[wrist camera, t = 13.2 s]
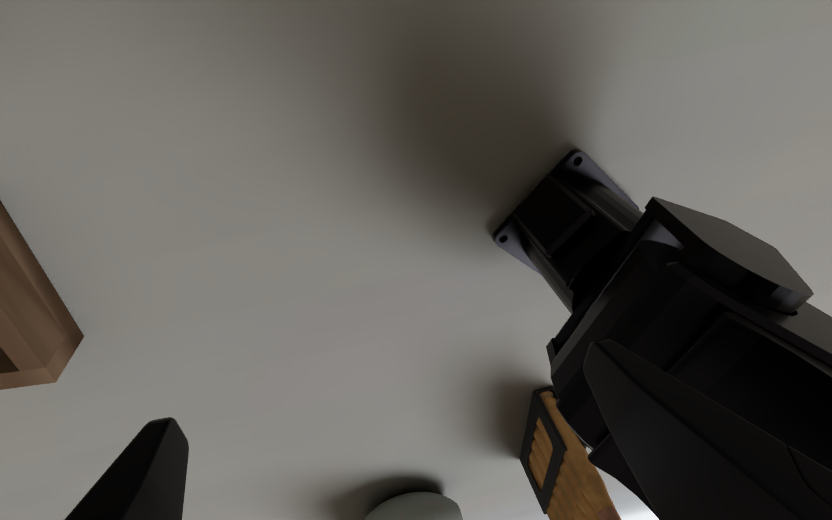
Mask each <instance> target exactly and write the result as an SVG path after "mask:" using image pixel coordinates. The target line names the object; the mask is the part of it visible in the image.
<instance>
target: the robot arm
mask: <svg viewBox="0 0 832 520" xmlns="http://www.w3.org/2000/svg"><path fill="white" fill-rule="evenodd" d="M576 157H578V160H577V161H576V162H575V163H573V161H574V159H575V158H576ZM645 209H646V211H645V212H644V213H642V212H641V211H639V207H638V206H637V205H636V204H635V203H634V202H633V201H632V200H631V199H630V198H629V197H628V196H627V195H626V194H625V193H624V192H623V191H622V190H621V189H620V188H619V187H618V186H617V185H616V184H615V183H614V182H613V181H612V180H611V179H610V178H609V177H608V176H607V175H606V174H605V173H604V172H603V171H602V170H601V169H600V168H599V167H598V166H597V165H596V164H595V163H594V162H593V161H592V160H591V159H590V158H589V157H588V156H587V155H586V154H585V153H584V152H582V151H580V150H579V149H574V150H572V151H570V152H569V153H568V154H567V155H566V156H565V157H564V158H563V159H562V160H561V161H560V163H559V164H558V165H557V166H556V167H555V168H554V169H553V170H552V171H551V172H550V173H549V174H548V175H547V176H546V177H545V178H544V179H543V180H542V181H541V182H540V184H539V185H538V186H537V187H536V188H535V189H534V190H533V191H532V192H531V193H530V194H529V195H528V196H527V197H526V199H525V200H524V201H523V202H522V203H521V204H520V205H519V206H518V207H517V208H516V209H515V210H514V212H513V213H512V214H511V215H510V216H509V217H508V218H507V219H506V220H505V221H504V222H503V223H502V224H501V225H500V227H499V228H498V229H497V230H496V231H495V232H494V234H493V240H494V242H495V243H496V244H497V245H498V246H499V247H501V248H502V249H504V250H505V251H506V252H508V253H509V254H511V255H512V256H514V257H515V258H517V259H518V260H520V261H521V262H523V263H524V264H526V265H527V266H529V267H530V268H532V269H533V270H535V271H536V272H538V273H539V274H541V275H542V276H543V277H544V279H545V280H546V281H547V283H548V284H549V285H550V287H551V288H552V289H553V291H554V292H555V293H556V295H557V296H558V297H559V298H560V300H561V301H562V302H563V304H564V305H565V306H566V308H567V309H568V310H569V312H570V313H571V314H572V315H571V316H570V317H569V319H568V320H567V322H566V323H565V324H564V326H563V327H562V329H561V330H560V331H559V333H558V334H557V336H556V337H555V338H552V339H551V341H550V342H549V343H548V345H547V346H546V348H547V352H548V357H549V361H550V365H551V380H552V383H553V385H554V388H555V391H556V393H557V396H558V400H557V401H556V407H557V409H558V411H559V413H560V414H561V416H562V417H563V419H564V420H565V422H566V423H567V424H568V426H569V427H570V428H571V430H572V431H573V432H574V433H575V435H576V436H577V437H578V438H579V439H580V440H581V441H582V442H583V443H584V444H585V445H586V446H587V447H589V448H590V449H591V450H592V451H591V452H590V454H589V455H588V460H589V461H590V463H591V464H593V465H594V466H596V467H598V468H599V469H601V470H603V471H604V472H606V473H608V474H609V475H611V476H613V477H614V478H616V479H617V480H618V481H619V482H621V483H622V484H623V485H624V486H626V487H627V488H628V489H629V490H630V491H632V492H633V493H634V494H635V495H637V496H638V497H639V498H640V499H641V500H642V501H643V502H644V504H645V505H646V506H647V507H648V508H649V509H650V510H651V511H652V512H653V513H654V514H655V515H656V516H657V517H658V518H659V520H832V317H831V316H829V315H827V314H826V313H824V312H822V311H821V310H819V309H817V308H815V307H814V306H812V305H810V304H809V303H807V302H806V301H807V300H808V299H809V298H810V297H811V296H812V295H813V292H812V290H811V289H810V288H809V286H808V285H807V284H806V283H805V282H804V281H803V279H802V278H801V277H800V276H799V275H798V274H797V272H796V271H795V270H794V269H793V268H792V267H791V265H790V264H789V263H788V262H787V261H786V260H785V258H784V257H783V256H782V255H781V254H780V253H779V251H778V250H777V249H776V248H774V247H773V246H771V245H769V244H768V243H766V242H764V241H762V240H760V239H758V238H757V237H755V236H753V235H751V234H749V233H747V232H745V231H744V230H742V229H740V228H738V227H736V226H734V225H733V224H731V223H729V222H727V221H725V220H722V219H719V218H716V217H713V216H710V215H707V214H704V213H701V212H698V211H695V210H692V209H689V208H686V207H683V206H680V205H677V204H674V203H671V202H668V201H665V200H662V199H659V198H657V197H652V198H651V199H650V201H649V202H648V204H647V205H646V206H645ZM503 235H505V236H504V238H502V239H500V237H501V236H503ZM188 453H189V446H188V441H187V439H186V437H185V435H184V433H183V432H182V430H181V428H180V427H179V425H178V423H177V422H176V420H175V419H174V418H171V417H168V418H163V419H157V420H153V421H150V422H149V423H147V424H146V425H145V426H144V427H143V428H142V430H141V431H140V432H139V433H138V434H137V435H136V437H135V438H134V439H133V440H132V441H131V442H130V444H129V445H128V446H127V447H126V448H125V449H124V451H123V452H122V453H121V454H120V455H119V456H118V458H117V459H116V460H115V461H114V462H113V464H112V465H111V466H110V467H109V468H108V469H107V471H106V472H105V473H104V474H103V475H102V476H101V478H100V479H99V480H98V481H97V482H96V483H95V485H94V486H93V487H92V488H91V489H90V490H89V492H88V493H87V494H86V495H85V496H84V497H83V499H82V500H81V501H80V502H79V503H78V504H77V506H76V507H75V508H74V509H73V510H72V511H71V513H70V514H69V515H68V516H67V517H66V518H65V520H182V513H183V503H184V493H185V483H186V473H187V463H188Z"/></svg>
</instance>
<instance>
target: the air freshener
mask: <svg viewBox="0 0 832 520" xmlns="http://www.w3.org/2000/svg"><path fill="white" fill-rule="evenodd" d="M365 520H463V519H462V515H461V511H460V509H459V506H458V505H457V503H455V502H454V501H453V500H451V499H449V498H447V497H445V496H443V495H440V494H436V493H431V492H410V493H405V494H401V495H398V496H395V497H393V498H390V499H388V500H386V501H385V502H383V503H382V504H380V505H379V506H377V507H376V508H375V509H373V510H372V511H371V512H370V513H369V514H368V515H367V516H366V517H365Z"/></svg>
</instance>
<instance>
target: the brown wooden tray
mask: <svg viewBox="0 0 832 520" xmlns="http://www.w3.org/2000/svg"><path fill="white" fill-rule="evenodd" d="M83 337H84V336H83V334H82V332H81V331H80V329H79V327H78V326H77V324H76V323H75V321H74V319H73V318H72V316H71V314H70V313H69V311H68V310H67V308H66V306H65V305H64V303H63V301H62V300H61V298H60V297H59V295H58V293H57V292H56V290H55V288H54V287H53V285H52V284H51V282H50V280H49V279H48V277H47V275H46V274H45V272H44V271H43V269H42V267H41V266H40V264H39V262H38V261H37V259H36V258H35V256H34V254H33V253H32V251H31V250H30V248H29V246H28V245H27V243H26V241H25V240H24V238H23V237H22V235H21V233H20V232H19V230H18V228H17V227H16V225H15V224H14V222H13V220H12V219H11V217H10V215H9V214H8V212H7V211H6V209H5V207H4V206H3V204H2V202H1V201H0V390H2V389H9V388H17V387H24V386H32V385H39V384H46V383H54V382H56V381H57V380H58V378H59V376H60V375H61V373H62V371H63V370H64V368H65V367H66V365H67V363H68V362H69V360H70V358H71V357H72V355H73V354H74V352H75V350H76V349H77V347H78V346H79V344H80V342H81V341H82V339H83Z"/></svg>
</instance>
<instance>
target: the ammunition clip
mask: <svg viewBox="0 0 832 520" xmlns="http://www.w3.org/2000/svg"><path fill="white" fill-rule="evenodd" d="M557 400H558V396H557V393H556V391H555V388H554V387H552V388H547V389H542V390H538V391H533V394H532V399H531V404H530V409H529V414H528V419H527V424H526V430H525V435H524V440H523V445H522V450H521V455H520V461H521V464H522V466H523V468H524V470H525V473H526V475H527V477H528V479H529V482H530V484H531V486H532V488H533V490H534V493H535V495H536V497H537V499H538V502H539V504H540V506H541V508H542V511H543V513H544V514H547V515H548V517H549V519H550V520H621V518H620V516H619V515H618V513H617V511H616V509H615V506H614V504H613V502H612V501H611V499H610V497H609V495H608V492H607V489H606V486H605V484H604V482H603V480H602V478H601V476H600V474H599V473H598V471H597V469H596V467H595V466H594V465H593V464H591V463H590V461H589V460H588V453H587V452H586V447H587V446H586V445H585V444H584V443H583V442H582V441H581V440H580V439H579V438H578V437H577V436H576V435H575V433H574V432H573V431H572V430H571V428H570V427H569V426H568V424H567V423H566V422H565V420H564V419H563V417H562V416H561V414H560V413H559V411H558V409H557V407H556V401H557Z"/></svg>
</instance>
